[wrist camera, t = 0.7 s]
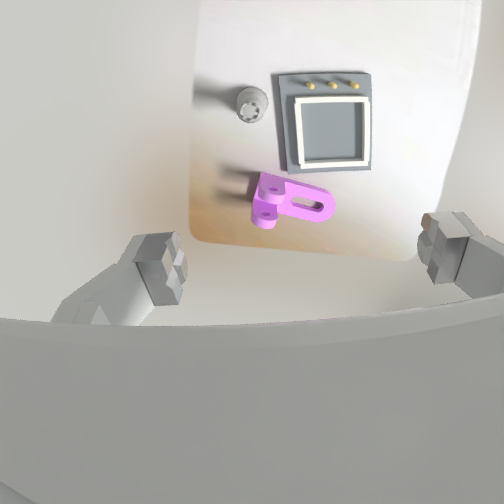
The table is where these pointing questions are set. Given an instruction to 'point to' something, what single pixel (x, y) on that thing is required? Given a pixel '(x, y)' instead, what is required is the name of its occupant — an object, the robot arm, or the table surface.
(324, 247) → the table surface
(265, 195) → the bracket
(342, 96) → the board
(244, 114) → the rook chess piece
